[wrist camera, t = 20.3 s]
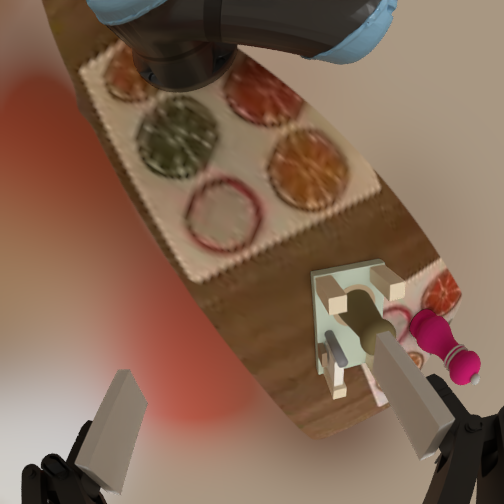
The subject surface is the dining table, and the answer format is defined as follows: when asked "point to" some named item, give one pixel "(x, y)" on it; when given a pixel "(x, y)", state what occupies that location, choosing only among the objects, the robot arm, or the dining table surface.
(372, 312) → the pepper shaker
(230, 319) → the dining table surface
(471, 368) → the pepper mill
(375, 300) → the stand
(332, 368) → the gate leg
